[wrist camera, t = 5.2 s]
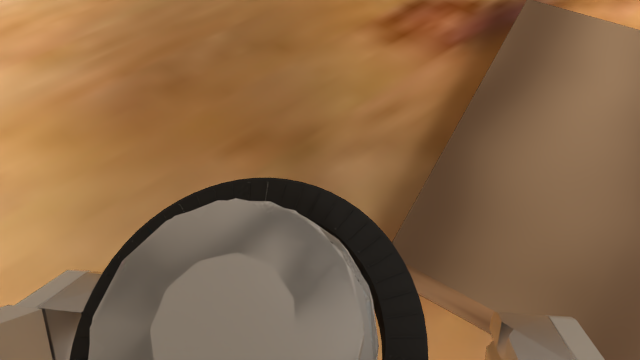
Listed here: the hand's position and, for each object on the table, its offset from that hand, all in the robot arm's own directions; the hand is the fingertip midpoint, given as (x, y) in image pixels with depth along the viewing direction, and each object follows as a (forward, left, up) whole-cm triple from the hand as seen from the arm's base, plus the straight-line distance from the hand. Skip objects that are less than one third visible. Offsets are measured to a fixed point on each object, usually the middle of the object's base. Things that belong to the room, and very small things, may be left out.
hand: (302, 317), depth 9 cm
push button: (0, 0, -6) cm, 6 cm away
